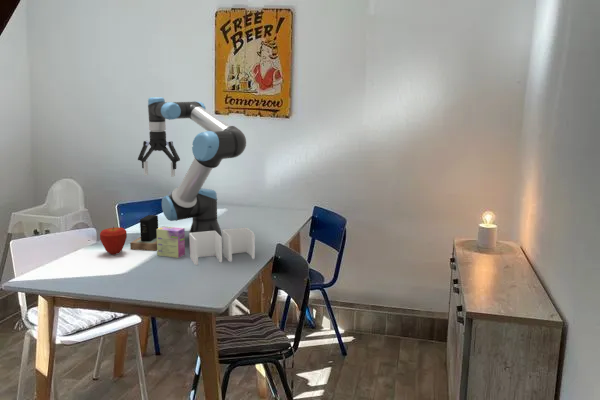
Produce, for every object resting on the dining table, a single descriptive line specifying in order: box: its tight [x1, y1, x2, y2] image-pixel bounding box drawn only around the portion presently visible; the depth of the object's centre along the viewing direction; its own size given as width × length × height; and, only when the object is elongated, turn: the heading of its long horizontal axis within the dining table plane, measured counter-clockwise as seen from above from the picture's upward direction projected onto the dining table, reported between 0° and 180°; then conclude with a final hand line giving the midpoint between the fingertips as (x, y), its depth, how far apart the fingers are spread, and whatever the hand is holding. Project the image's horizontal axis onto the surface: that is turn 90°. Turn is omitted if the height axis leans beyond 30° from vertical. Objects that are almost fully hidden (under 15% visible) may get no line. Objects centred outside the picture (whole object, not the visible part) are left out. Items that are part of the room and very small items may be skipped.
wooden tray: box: [129, 236, 157, 252], centre depth 261 cm, size 12×14×3 cm
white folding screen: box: [188, 227, 256, 266], centre depth 243 cm, size 25×11×11 cm, turn 112°
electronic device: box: [139, 214, 159, 241], centre depth 260 cm, size 4×10×10 cm, turn 170°
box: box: [156, 225, 186, 259], centre depth 246 cm, size 10×6×12 cm, turn 71°
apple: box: [99, 226, 128, 256], centre depth 248 cm, size 11×11×12 cm
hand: (159, 175), depth 276 cm, fingers open, 13 cm apart
